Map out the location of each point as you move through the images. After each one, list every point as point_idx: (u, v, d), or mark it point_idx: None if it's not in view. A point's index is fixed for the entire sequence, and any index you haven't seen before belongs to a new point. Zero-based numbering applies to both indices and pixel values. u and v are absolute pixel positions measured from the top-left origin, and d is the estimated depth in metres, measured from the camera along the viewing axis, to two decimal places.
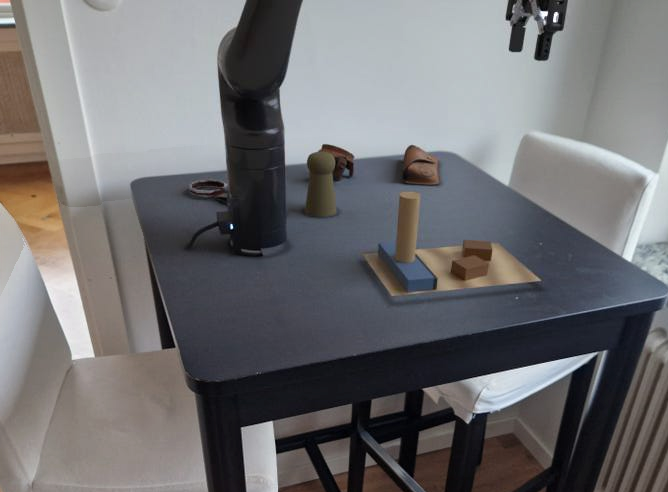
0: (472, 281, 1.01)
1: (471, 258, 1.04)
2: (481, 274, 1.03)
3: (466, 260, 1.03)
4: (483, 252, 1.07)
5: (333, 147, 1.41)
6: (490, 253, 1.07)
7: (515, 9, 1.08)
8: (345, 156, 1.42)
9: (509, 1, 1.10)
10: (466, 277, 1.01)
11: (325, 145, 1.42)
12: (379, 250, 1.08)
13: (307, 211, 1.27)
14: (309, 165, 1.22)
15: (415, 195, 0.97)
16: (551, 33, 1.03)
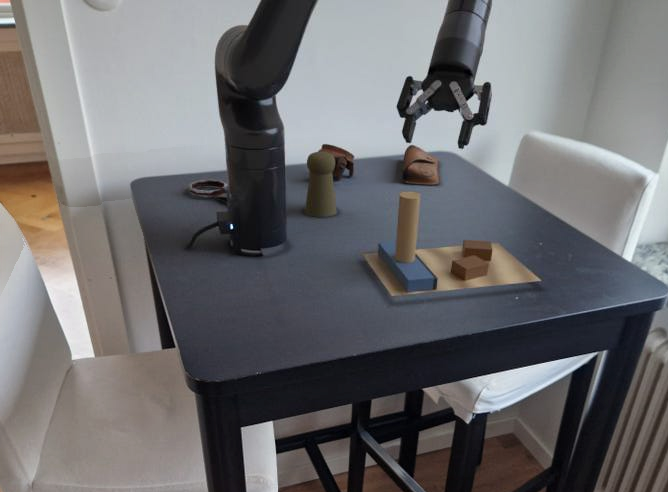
0: (472, 281, 1.01)
1: (471, 258, 1.04)
2: (481, 274, 1.03)
3: (466, 260, 1.03)
4: (483, 252, 1.07)
5: (333, 147, 1.41)
6: (490, 253, 1.07)
7: (422, 98, 1.05)
8: (345, 156, 1.42)
9: (403, 93, 1.07)
10: (466, 277, 1.01)
11: (325, 145, 1.42)
12: (379, 250, 1.08)
13: (307, 211, 1.27)
14: (309, 165, 1.22)
15: (415, 195, 0.97)
16: (474, 124, 1.04)
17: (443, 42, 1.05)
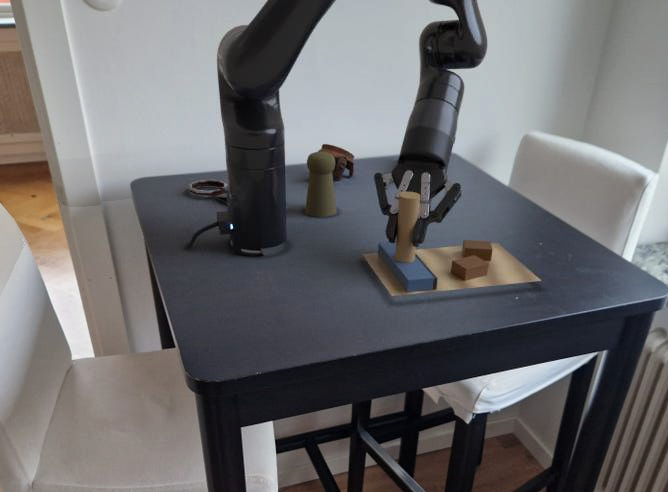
0: (472, 281, 1.01)
1: (471, 258, 1.04)
2: (481, 274, 1.03)
3: (466, 260, 1.03)
4: (483, 252, 1.07)
5: (333, 147, 1.41)
6: (490, 253, 1.07)
7: None
8: (345, 156, 1.42)
9: (380, 191, 1.01)
10: (466, 277, 1.01)
11: (325, 145, 1.42)
12: (379, 250, 1.08)
13: (307, 211, 1.27)
14: (309, 165, 1.22)
15: (415, 195, 0.97)
16: (430, 222, 0.99)
17: (414, 131, 0.99)
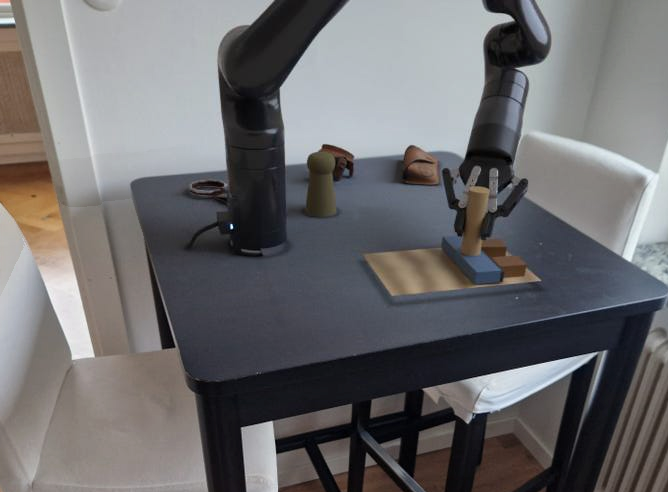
0: None
1: (511, 257, 1.04)
2: (518, 274, 1.03)
3: (505, 259, 1.04)
4: (497, 250, 1.08)
5: (333, 147, 1.41)
6: (504, 250, 1.08)
7: (468, 188, 1.02)
8: (345, 156, 1.42)
9: (448, 186, 1.03)
10: None
11: (325, 145, 1.42)
12: (443, 244, 1.11)
13: (307, 211, 1.27)
14: (309, 165, 1.22)
15: (484, 189, 1.00)
16: (497, 216, 1.02)
17: (483, 127, 1.02)
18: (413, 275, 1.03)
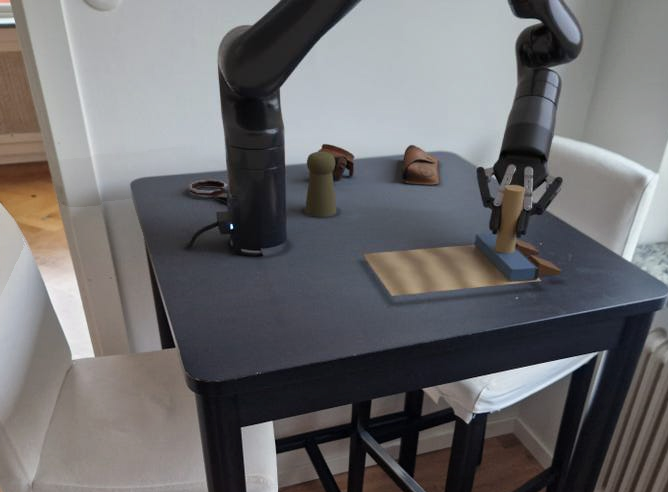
0: (472, 281, 1.01)
1: (547, 262, 1.06)
2: None
3: (542, 260, 1.06)
4: (531, 252, 1.11)
5: (333, 147, 1.41)
6: None
7: (504, 186, 1.03)
8: (345, 156, 1.42)
9: (483, 184, 1.05)
10: None
11: (325, 145, 1.42)
12: (476, 241, 1.12)
13: (307, 211, 1.27)
14: (309, 165, 1.22)
15: (520, 188, 1.01)
16: (532, 214, 1.04)
17: (517, 127, 1.04)
18: (413, 275, 1.03)
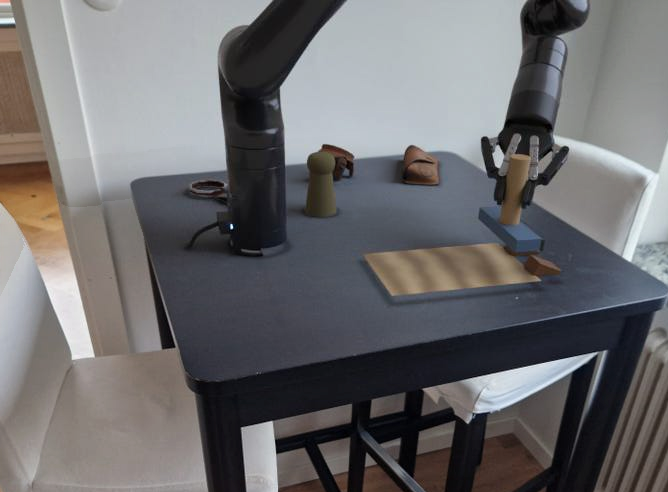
0: (472, 281, 1.01)
1: (548, 262, 1.06)
2: None
3: (543, 260, 1.06)
4: (531, 252, 1.11)
5: (333, 147, 1.41)
6: None
7: (509, 156, 1.01)
8: (345, 156, 1.42)
9: (487, 154, 1.02)
10: (536, 272, 1.04)
11: (325, 145, 1.42)
12: (480, 214, 1.10)
13: (307, 211, 1.27)
14: (309, 165, 1.22)
15: (525, 157, 0.99)
16: (537, 184, 1.01)
17: (523, 95, 1.01)
18: (413, 275, 1.03)
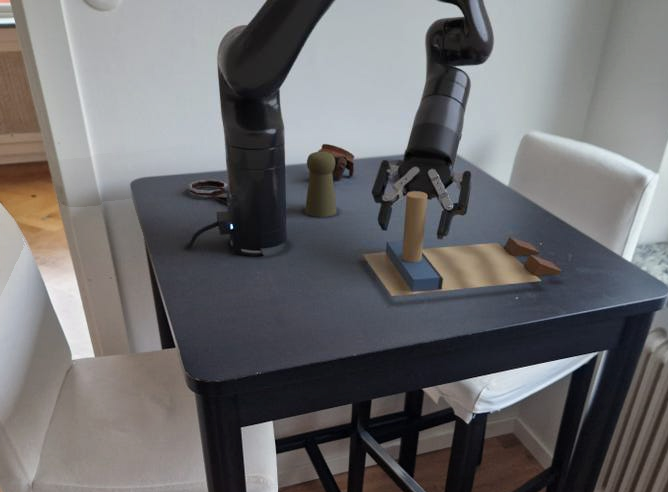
0: (472, 281, 1.01)
1: (548, 262, 1.06)
2: None
3: (543, 260, 1.06)
4: (531, 252, 1.11)
5: (333, 147, 1.41)
6: None
7: (399, 185, 1.00)
8: (345, 156, 1.42)
9: (379, 178, 1.01)
10: (536, 272, 1.04)
11: (325, 145, 1.42)
12: (387, 249, 1.08)
13: (307, 211, 1.27)
14: (309, 165, 1.22)
15: (422, 194, 0.98)
16: (454, 214, 0.99)
17: (421, 127, 1.00)
18: None
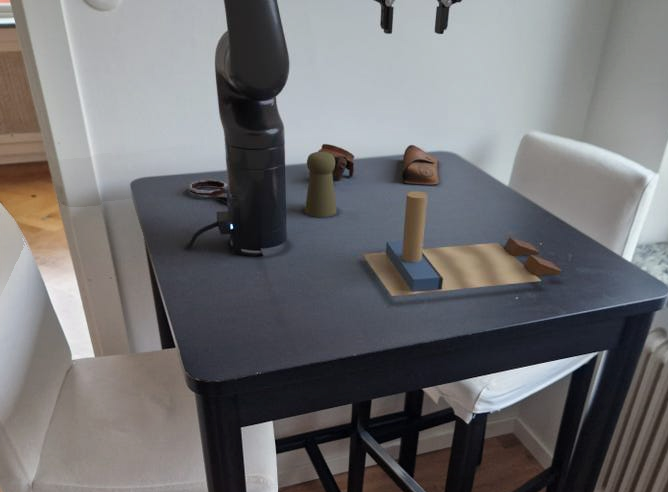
0: (472, 281, 1.01)
1: (548, 262, 1.06)
2: None
3: (543, 260, 1.06)
4: (531, 252, 1.11)
5: (333, 147, 1.41)
6: None
7: None
8: (345, 156, 1.42)
9: None
10: (536, 272, 1.04)
11: (325, 145, 1.42)
12: (387, 249, 1.08)
13: (307, 211, 1.27)
14: (309, 165, 1.22)
15: (422, 194, 0.98)
16: None
17: None
18: None
